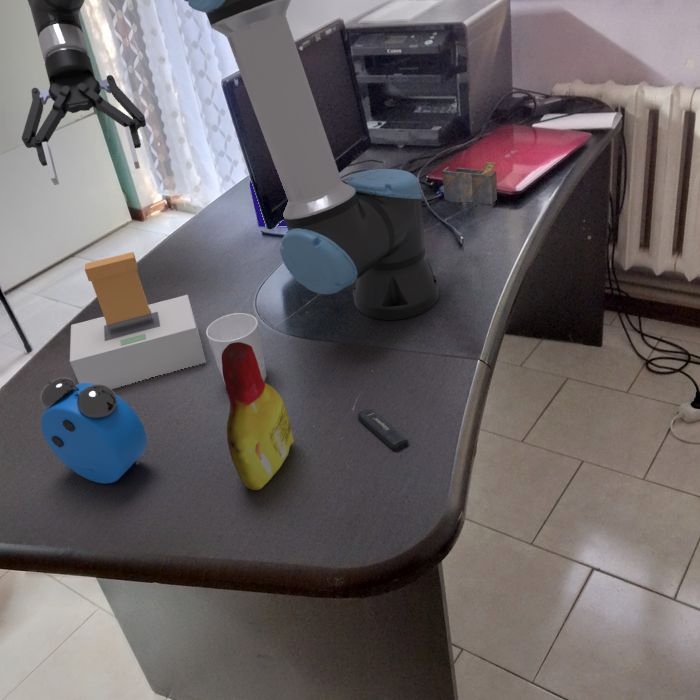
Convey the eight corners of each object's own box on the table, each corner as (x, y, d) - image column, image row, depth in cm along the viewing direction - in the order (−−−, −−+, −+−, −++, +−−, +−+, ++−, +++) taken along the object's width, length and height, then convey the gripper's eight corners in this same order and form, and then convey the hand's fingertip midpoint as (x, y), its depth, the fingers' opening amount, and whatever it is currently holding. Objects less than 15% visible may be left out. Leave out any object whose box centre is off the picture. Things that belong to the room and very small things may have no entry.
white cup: (230, 401, 112) (215, 347, 106) (214, 377, 118) (199, 324, 112) (277, 382, 114) (265, 328, 109) (259, 359, 120) (246, 307, 115)
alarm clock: (160, 465, 102) (127, 378, 93) (131, 496, 97) (95, 408, 89) (89, 446, 107) (52, 363, 99) (59, 475, 103) (18, 391, 94)
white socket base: (84, 358, 128) (70, 324, 124) (197, 328, 131) (187, 294, 127) (84, 396, 118) (69, 361, 114) (206, 362, 122) (195, 327, 118)
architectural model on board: (497, 204, 159) (497, 161, 154) (492, 209, 157) (491, 166, 152) (450, 198, 165) (448, 156, 159) (444, 204, 163) (441, 162, 157)
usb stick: (410, 446, 99) (409, 438, 98) (395, 455, 98) (393, 446, 97) (371, 413, 106) (370, 405, 105) (356, 421, 105) (355, 412, 104)
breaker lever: (108, 327, 121) (85, 263, 116) (153, 315, 122) (133, 251, 117) (108, 334, 119) (84, 269, 113) (154, 321, 120) (133, 257, 114)
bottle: (269, 502, 93) (235, 376, 82) (225, 495, 95) (186, 371, 84) (304, 440, 102) (277, 319, 91) (263, 435, 104) (232, 316, 93)
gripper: (142, 59, 132) (171, 167, 130) (-2, 84, 127) (25, 197, 125) (137, 35, 125) (168, 148, 123) (-16, 59, 120) (13, 179, 117)
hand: (96, 173), depth 124 cm, fingers open, 13 cm apart
